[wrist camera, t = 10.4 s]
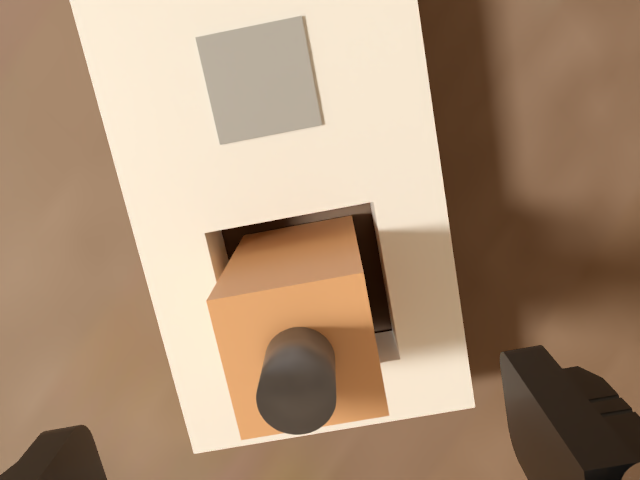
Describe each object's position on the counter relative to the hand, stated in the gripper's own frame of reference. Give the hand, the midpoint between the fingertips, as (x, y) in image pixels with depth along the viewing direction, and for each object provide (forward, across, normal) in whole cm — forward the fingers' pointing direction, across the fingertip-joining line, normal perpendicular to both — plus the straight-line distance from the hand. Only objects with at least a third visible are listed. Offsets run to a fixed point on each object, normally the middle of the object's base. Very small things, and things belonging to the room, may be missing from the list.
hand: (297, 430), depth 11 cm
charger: (+11, 0, 0) cm, 11 cm away
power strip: (+11, 0, -3) cm, 11 cm away
